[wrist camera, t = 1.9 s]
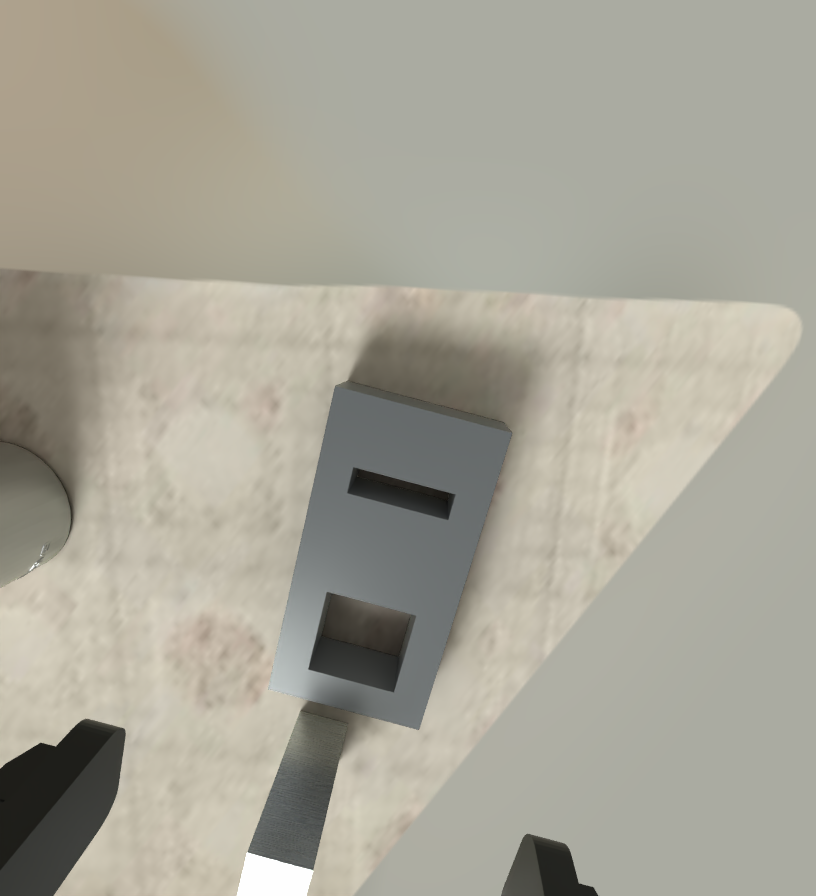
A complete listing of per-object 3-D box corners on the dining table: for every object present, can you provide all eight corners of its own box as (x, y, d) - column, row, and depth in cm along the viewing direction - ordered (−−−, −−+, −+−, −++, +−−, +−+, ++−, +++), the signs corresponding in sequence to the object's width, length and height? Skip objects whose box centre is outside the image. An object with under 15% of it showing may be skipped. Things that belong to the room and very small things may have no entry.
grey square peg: (337, 762, 36) (299, 919, 26) (290, 750, 36) (235, 902, 26) (347, 723, 35) (312, 870, 25) (300, 710, 35) (246, 852, 25)
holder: (420, 691, 34) (418, 730, 31) (285, 654, 34) (267, 689, 31) (503, 422, 30) (512, 433, 26) (347, 380, 30) (335, 386, 26)
